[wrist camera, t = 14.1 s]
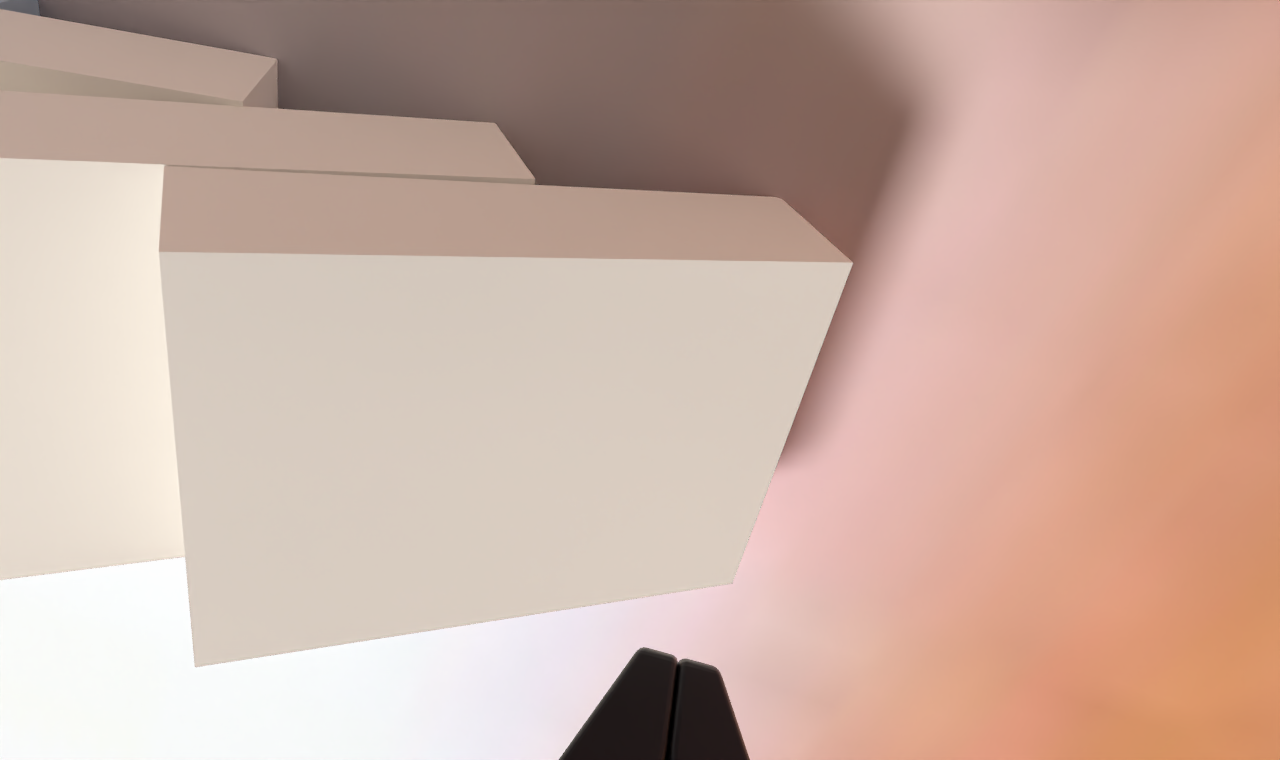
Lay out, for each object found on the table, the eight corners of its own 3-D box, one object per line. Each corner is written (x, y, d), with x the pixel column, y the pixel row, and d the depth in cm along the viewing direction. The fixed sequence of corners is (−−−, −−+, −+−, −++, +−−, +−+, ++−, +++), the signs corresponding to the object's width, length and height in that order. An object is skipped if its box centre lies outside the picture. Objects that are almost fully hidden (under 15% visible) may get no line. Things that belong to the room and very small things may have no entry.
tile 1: (853, 262, 12) (159, 251, 8) (732, 583, 15) (195, 667, 12) (779, 197, 13) (163, 165, 10) (683, 502, 16) (194, 556, 13)
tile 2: (535, 178, 12) (-292, 146, 8) (485, 519, 15) (-126, 595, 12) (495, 123, 13) (-223, 75, 10) (457, 443, 16) (-94, 492, 13)
